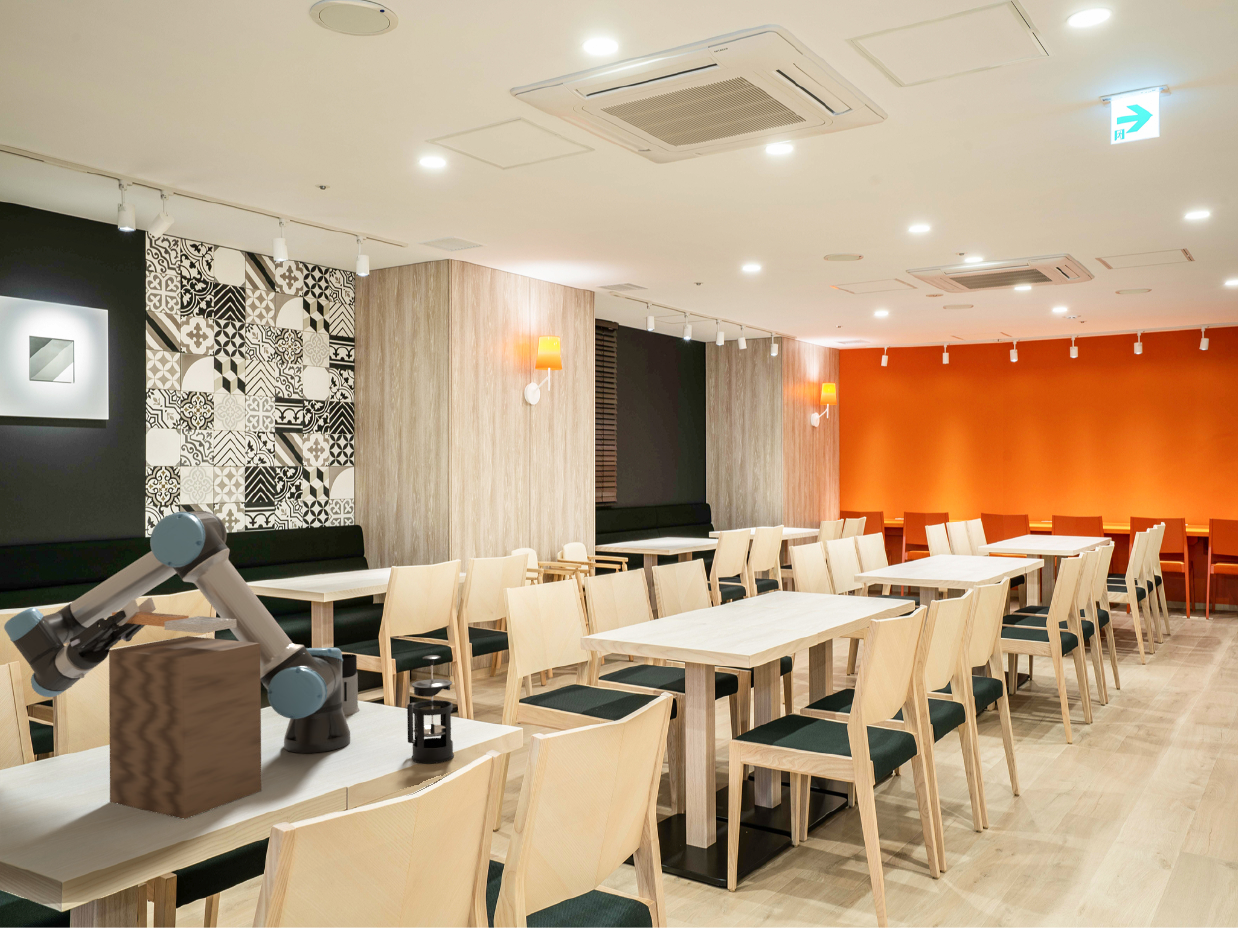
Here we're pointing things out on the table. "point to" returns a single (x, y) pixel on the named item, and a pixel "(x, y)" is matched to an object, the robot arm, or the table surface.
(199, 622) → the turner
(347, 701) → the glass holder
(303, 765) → the table surface
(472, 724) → the table surface
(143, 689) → the walnut stand
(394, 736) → the table surface
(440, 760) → the french press
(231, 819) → the table surface
